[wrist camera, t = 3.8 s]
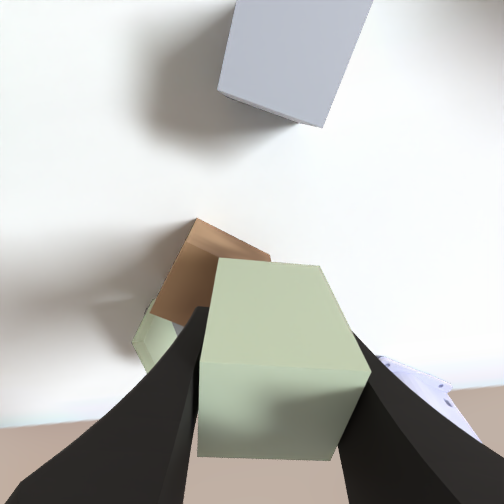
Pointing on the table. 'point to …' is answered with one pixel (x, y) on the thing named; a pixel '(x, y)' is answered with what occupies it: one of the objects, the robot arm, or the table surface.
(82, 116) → the table surface
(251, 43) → the slate block
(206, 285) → the walnut plinth
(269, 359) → the sage block
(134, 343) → the pale green block
